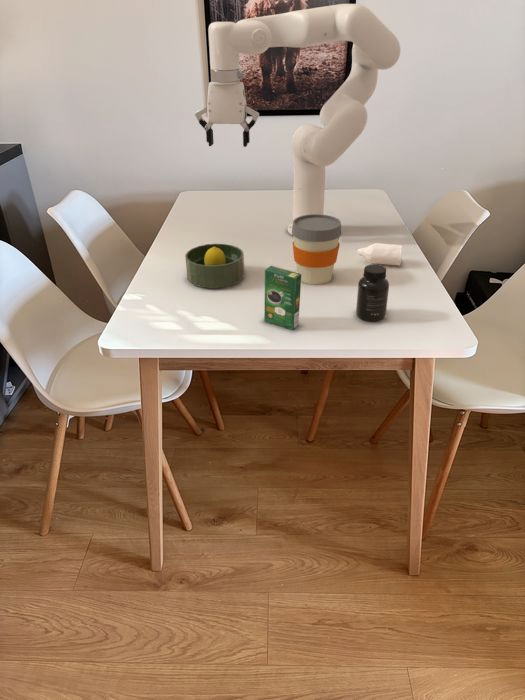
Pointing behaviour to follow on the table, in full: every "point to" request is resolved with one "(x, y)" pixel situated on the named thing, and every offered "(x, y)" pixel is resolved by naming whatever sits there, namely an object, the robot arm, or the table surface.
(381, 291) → the supplement bottle
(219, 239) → the table surface
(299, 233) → the reusable coffee cup
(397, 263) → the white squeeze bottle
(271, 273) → the coffee box
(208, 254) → the lemon
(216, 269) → the green round bowl
